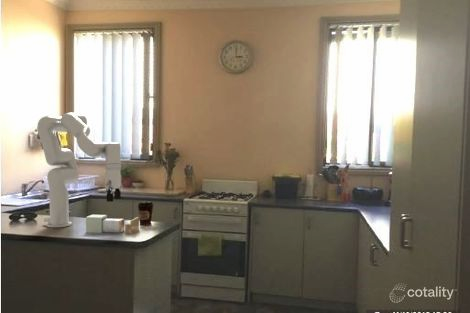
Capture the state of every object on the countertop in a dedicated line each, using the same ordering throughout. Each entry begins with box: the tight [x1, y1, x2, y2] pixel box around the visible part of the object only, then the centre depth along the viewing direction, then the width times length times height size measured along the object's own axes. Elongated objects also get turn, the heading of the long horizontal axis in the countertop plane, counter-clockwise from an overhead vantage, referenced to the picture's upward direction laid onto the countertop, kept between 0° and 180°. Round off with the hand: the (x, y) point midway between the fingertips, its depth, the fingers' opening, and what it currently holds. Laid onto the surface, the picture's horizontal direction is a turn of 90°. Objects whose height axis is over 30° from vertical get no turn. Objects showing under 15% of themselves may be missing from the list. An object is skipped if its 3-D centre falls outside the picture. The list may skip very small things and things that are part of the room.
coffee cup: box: [137, 200, 154, 227], centre depth 233 cm, size 9×8×13 cm
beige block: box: [124, 216, 140, 235], centre depth 215 cm, size 4×9×7 cm, turn 173°
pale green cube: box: [85, 214, 108, 234], centre depth 217 cm, size 8×7×8 cm
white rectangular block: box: [102, 218, 125, 233], centre depth 217 cm, size 17×4×6 cm, turn 83°
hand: (113, 200), depth 215 cm, fingers open, 9 cm apart
